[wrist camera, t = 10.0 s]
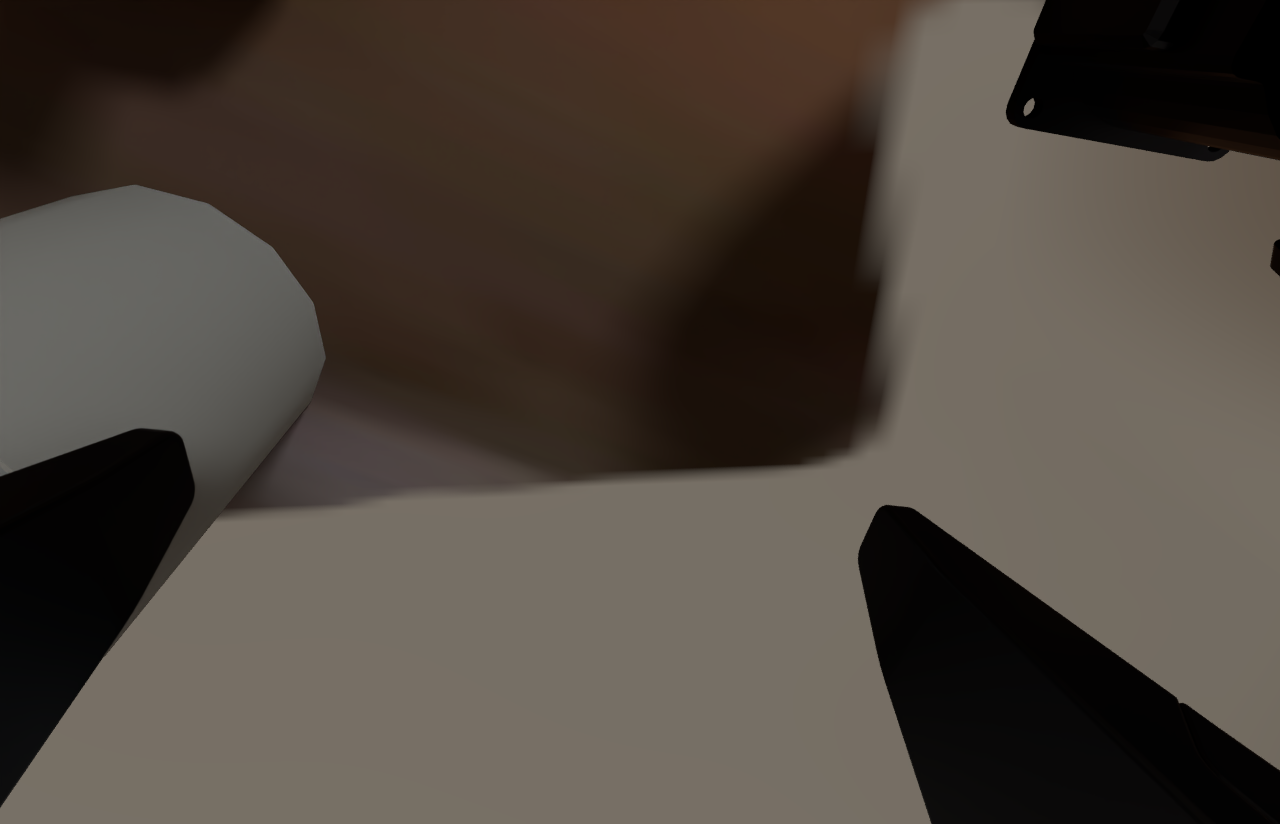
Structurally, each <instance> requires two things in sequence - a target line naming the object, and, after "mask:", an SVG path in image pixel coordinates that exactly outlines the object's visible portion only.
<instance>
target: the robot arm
mask: <svg viewBox="0 0 1280 824" xmlns="http://www.w3.org/2000/svg"><path fill="white" fill-rule="evenodd" d="M1034 37H1035V40H1034V42H1033V44H1032V47H1031V49H1030V51H1029V54H1028V56H1027V59H1026V61H1025V63H1024V66H1023V68H1022V71H1021V73H1020V76H1019V78H1018V80H1017V83H1016V85H1015V87H1014V90H1013V92H1012V94H1011V97H1010V99H1009V102H1008V104H1007V109H1006V116H1007V119H1008V121H1009V122H1010V124H1012V125H1015V126H1017V127H1021V128H1025V129H1031V130H1036V131H1041V132H1047V133H1052V134H1058V135H1064V136H1069V137H1075V138H1080V139H1086V140H1092V141H1097V142H1102V143H1108V144H1114V145H1119V146H1124V147H1130V148H1136V149H1141V150H1146V151H1152V152H1157V153H1163V154H1168V155H1174V156H1179V157H1185V158H1191V159H1196V160H1201V161H1215V160H1217V159H1219V158H1221V157H1223V156H1224V155H1225V154H1226V153H1228V152H1229V151H1235V152H1240V153H1245V154H1250V155H1255V156H1260V157H1265V158H1270V159H1275V160H1280V0H1046V1H1045V4H1044V6H1043V9H1042V11H1041V13H1040V16H1039V18H1038V21H1037V23H1036V26H1035V28H1034ZM1032 98H1034V101H1035V105H1034V109H1033V110H1032V111H1031V113H1030V114H1028V115H1027V116H1024V113H1023V111H1024V106H1025V105H1026V103H1027V102H1028V101H1029V100H1030V99H1032ZM1208 146H1210V147H1208ZM1270 267H1271V268H1272V269H1273V270H1274V271H1275V272H1276V273H1277V274H1278V275H1279V276H1280V239H1279V240H1277V241H1275V243H1274V246H1273V252H1272V258H1271V264H1270ZM194 496H195V482H194V478H193V474H192V471H191V467H190V463H189V459H188V456H187V452H186V448H185V445H184V442H183V439H182V438H181V436H180V435H179V434H178V433H176V432H174V431H169V430H160V429H150V428H136V429H132V430H130V431H127V432H124V433H121V434H118V435H115V436H113V437H110V438H107V439H104V440H101V441H98V442H96V443H93V444H90V445H87V446H84V447H82V448H79V449H76V450H73V451H70V452H67V453H65V454H62V455H59V456H56V457H53V458H50V459H48V460H45V461H42V462H39V463H36V464H33V465H31V466H28V467H25V468H22V469H19V470H16V471H14V472H11V473H8V474H5V475H2V476H0V807H1V806H2V804H3V803H4V801H5V800H6V799H7V797H8V796H9V794H10V793H11V791H12V790H13V788H14V787H15V785H16V783H17V782H18V781H19V779H20V778H21V777H22V775H23V774H24V772H25V771H26V769H27V768H28V766H29V765H30V763H31V762H32V760H33V759H34V758H35V756H36V755H37V753H38V752H39V750H40V749H41V747H42V746H43V744H44V743H45V742H46V740H47V739H48V737H49V735H50V734H51V733H52V731H53V730H54V728H55V727H56V725H57V724H58V723H59V721H60V719H61V718H62V717H63V715H64V714H65V712H66V711H67V709H68V708H69V706H70V705H71V703H72V702H73V701H74V699H75V698H76V696H77V695H78V693H79V692H80V690H81V689H82V687H83V686H84V685H85V683H86V681H87V680H88V679H89V677H90V676H91V674H92V673H93V671H94V670H95V668H96V667H97V666H98V664H99V663H100V661H101V660H102V658H103V657H104V655H105V654H106V652H107V651H108V649H109V648H110V647H111V645H112V644H113V642H114V641H115V639H116V638H117V636H118V635H119V633H120V632H121V630H122V629H123V627H124V626H125V624H126V623H127V621H128V620H129V618H130V616H131V615H132V613H133V612H134V610H135V608H136V607H137V605H138V603H139V601H140V600H141V598H142V596H143V595H144V593H145V591H146V589H147V587H148V585H149V583H150V582H151V580H152V578H153V576H154V574H155V572H156V570H157V569H158V567H159V565H160V563H161V561H162V559H163V557H164V556H165V554H166V552H167V550H168V548H169V546H170V544H171V542H172V541H173V539H174V537H175V535H176V533H177V531H178V529H179V528H180V526H181V524H182V522H183V520H184V518H185V516H186V514H187V513H188V511H189V509H190V507H191V505H192V503H193V500H194ZM858 564H859V570H860V575H861V580H862V584H863V589H864V594H865V598H866V603H867V608H868V612H869V617H870V622H871V627H872V632H873V636H874V641H875V645H876V650H877V654H878V658H879V662H880V666H881V670H882V673H883V676H884V680H885V683H886V686H887V689H888V692H889V695H890V698H891V701H892V705H893V708H894V711H895V714H896V716H897V720H898V723H899V726H900V729H901V732H902V735H903V738H904V741H905V744H906V747H907V750H908V753H909V757H910V760H911V763H912V766H913V769H914V772H915V775H916V778H917V781H918V784H919V787H920V790H921V793H922V796H923V799H924V802H925V805H926V809H927V811H928V815H929V818H930V821H931V824H1280V770H1278V769H1277V768H1275V767H1274V766H1273V765H1271V764H1270V763H1268V762H1267V761H1265V760H1264V759H1263V758H1261V757H1260V756H1258V755H1257V754H1255V753H1254V752H1252V751H1251V750H1250V749H1248V748H1247V747H1245V746H1244V745H1242V744H1241V743H1240V742H1238V741H1237V740H1235V739H1234V738H1232V737H1231V736H1230V735H1228V734H1227V733H1225V732H1224V731H1223V730H1221V729H1220V728H1218V727H1217V726H1216V725H1214V724H1213V723H1211V722H1210V721H1209V720H1207V719H1206V718H1205V717H1203V716H1202V715H1200V714H1199V713H1198V712H1196V711H1195V710H1193V709H1192V708H1191V707H1189V706H1188V705H1186V704H1184V703H1179V702H1178V699H1177V698H1176V697H1175V696H1174V695H1172V694H1171V693H1170V692H1168V691H1167V690H1165V689H1164V688H1163V687H1161V686H1160V685H1158V684H1157V683H1156V682H1154V681H1153V680H1151V679H1150V678H1149V677H1147V676H1146V675H1145V674H1143V673H1142V672H1140V671H1139V670H1137V669H1136V668H1135V667H1133V666H1132V665H1130V664H1129V663H1128V662H1126V661H1125V660H1124V659H1122V658H1121V657H1119V656H1118V655H1117V654H1115V653H1114V652H1112V651H1111V650H1110V649H1108V648H1107V647H1105V646H1104V645H1103V644H1101V643H1100V642H1099V641H1097V640H1096V639H1094V638H1093V637H1091V636H1090V635H1089V634H1087V633H1086V632H1085V631H1083V630H1082V629H1080V628H1079V627H1077V626H1076V625H1075V624H1073V623H1072V622H1071V621H1069V620H1068V619H1066V618H1065V617H1063V616H1062V615H1061V614H1060V613H1058V612H1057V611H1055V610H1054V609H1052V608H1051V607H1050V606H1048V605H1047V604H1046V603H1044V602H1043V601H1041V600H1040V599H1039V598H1037V597H1036V596H1034V595H1033V594H1031V593H1030V592H1029V591H1027V590H1026V589H1025V588H1023V587H1022V586H1021V585H1019V584H1018V583H1016V582H1015V581H1014V580H1012V579H1011V578H1009V577H1008V576H1007V575H1005V574H1004V573H1002V572H1001V571H1000V570H998V569H997V568H996V567H994V566H992V565H991V564H990V563H989V562H987V561H986V560H984V559H983V558H982V557H980V556H979V555H977V554H976V553H975V552H973V551H972V550H970V549H969V548H968V547H966V546H965V545H963V544H962V543H961V542H959V541H958V540H956V539H955V538H954V537H952V536H951V535H950V534H948V533H947V532H945V531H944V530H943V529H941V528H940V527H938V526H937V525H936V524H934V523H933V522H931V521H930V520H929V519H927V518H926V517H924V516H923V515H922V514H920V513H919V512H918V511H916V510H915V509H912V508H910V507H902V506H892V505H885V506H882V507H880V508H879V509H878V510H877V512H876V514H875V516H874V518H873V520H872V522H871V524H870V527H869V529H868V531H867V533H866V535H865V537H864V540H863V542H862V544H861V546H860V550H859V553H858Z"/></svg>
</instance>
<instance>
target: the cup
mask: <svg viewBox="0 0 1280 824" xmlns="http://www.w3.org/2000/svg"><path fill="white" fill-rule="evenodd" d="M325 358H326V357H325V352H324V348H323V343H322V339H321V334H320V330H319V325H318V321H317V317H316V312H315V308H314V303H313V302H312V300H311V299H310V298H309V296H308V295H307V294H306V292H305V291H304V290H303V288H302V287H301V285H300V284H299V283H298V281H297V280H296V279H295V277H294V276H293V275H292V273H291V272H290V270H289V269H288V268H287V266H286V265H285V264H284V262H283V261H282V260H281V258H280V257H279V255H278V254H277V253H276V251H275V250H274V249H273V247H271V246H270V245H268V244H267V243H265V242H264V241H262V240H261V239H259V238H258V237H256V236H255V235H254V234H252V233H251V232H249V231H248V230H246V229H245V228H243V227H242V226H240V225H239V224H237V223H236V222H235V221H233V220H232V219H230V218H229V217H227V216H226V215H224V214H223V213H221V212H220V211H218V210H217V209H215V208H214V207H213V206H211V205H210V204H207V203H204V202H200V201H196V200H192V199H188V198H184V197H181V196H177V195H173V194H169V193H165V192H161V191H158V190H154V189H150V188H146V187H142V186H139V185H131V186H125V187H120V188H115V189H109V190H104V191H98V192H93V193H88V194H82V195H77V196H72V197H68V198H65V199H62V200H59V201H56V202H53V203H49V204H46V205H43V206H40V207H37V208H33V209H30V210H27V211H24V212H21V213H17V214H14V215H11V216H8V217H5V218H2V219H0V476H2V475H5V474H8V473H11V472H14V471H16V470H19V469H22V468H25V467H28V466H31V465H33V464H36V463H39V462H42V461H45V460H48V459H50V458H53V457H56V456H59V455H62V454H65V453H67V452H70V451H73V450H76V449H79V448H82V447H84V446H87V445H90V444H93V443H96V442H98V441H101V440H104V439H107V438H110V437H113V436H115V435H118V434H121V433H124V432H127V431H130V430H132V429H136V428H150V429H160V430H169V431H174V432H176V433H178V434H179V435H180V436H181V438H182V439H183V442H184V445H185V448H186V452H187V456H188V459H189V463H190V467H191V471H192V474H193V478H194V482H195V496H194V500H193V503H192V505H191V507H190V509H189V511H188V513H187V514H186V516H185V518H184V520H183V522H182V524H181V526H180V528H179V529H178V531H177V533H176V535H175V537H174V539H173V541H172V542H171V544H170V546H169V548H168V550H167V552H166V554H165V556H164V557H163V559H162V561H161V563H160V565H159V567H158V569H157V570H156V572H155V574H154V576H153V578H152V580H151V582H150V583H149V585H148V587H147V589H146V591H145V593H144V595H143V596H142V598H141V600H140V601H139V603H138V605H137V607H136V608H135V610H134V612H133V613H132V615H131V616H130V618H129V620H128V621H127V623H126V624H125V626H124V627H123V629H122V630H121V632H120V633H119V635H118V636H117V638H116V639H115V641H114V642H113V644H112V645H111V647H110V648H109V649H108V651H110V649H111V648H112V647H113V646H114V644H115V643H116V642H117V641H118V639H119V638H120V637H121V636H122V634H123V633H124V632H125V631H126V630H127V628H128V627H129V626H130V624H131V623H132V622H133V621H134V619H135V618H136V617H137V616H138V615H139V613H140V612H141V611H142V610H143V608H144V607H145V606H146V605H147V604H148V602H149V601H150V600H151V599H152V597H153V596H154V595H155V593H156V592H157V591H158V590H159V589H160V587H161V586H162V585H163V584H164V583H165V581H166V580H167V579H168V578H169V576H170V575H171V574H172V573H173V571H174V570H175V569H176V568H177V566H178V565H179V564H180V563H181V561H182V560H183V559H184V558H185V557H186V555H187V554H188V552H190V550H191V549H192V548H193V547H194V545H195V544H196V543H197V542H198V540H199V539H200V538H201V537H202V536H203V534H204V533H205V532H206V531H207V529H208V528H209V527H210V526H211V524H212V523H213V522H214V521H215V520H216V518H217V517H218V516H219V515H220V513H221V512H222V511H223V510H224V508H225V507H226V506H227V505H228V503H229V502H230V501H231V500H232V498H233V497H234V496H235V495H236V494H237V492H238V491H239V490H240V489H241V487H242V486H243V485H244V484H245V482H246V481H247V480H248V479H249V477H250V476H251V475H252V474H253V473H254V471H255V470H256V469H257V468H258V466H259V465H260V464H261V463H262V461H263V460H264V459H265V458H266V456H267V455H268V454H269V453H270V452H271V450H272V449H273V448H274V447H275V445H276V444H277V443H278V442H279V440H280V439H281V438H282V437H283V435H284V434H285V433H286V432H287V431H288V429H289V428H290V427H291V426H292V424H293V423H294V422H295V421H296V419H297V418H298V417H299V416H300V414H301V413H302V412H303V411H304V410H305V408H306V407H307V406H308V405H309V403H310V402H311V400H312V397H313V394H314V391H315V388H316V385H317V382H318V379H319V376H320V373H321V370H322V367H323V364H324V361H325ZM108 651H107V652H106V654H107V653H108ZM106 654H105V655H106ZM105 655H104V656H105Z"/></svg>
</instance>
